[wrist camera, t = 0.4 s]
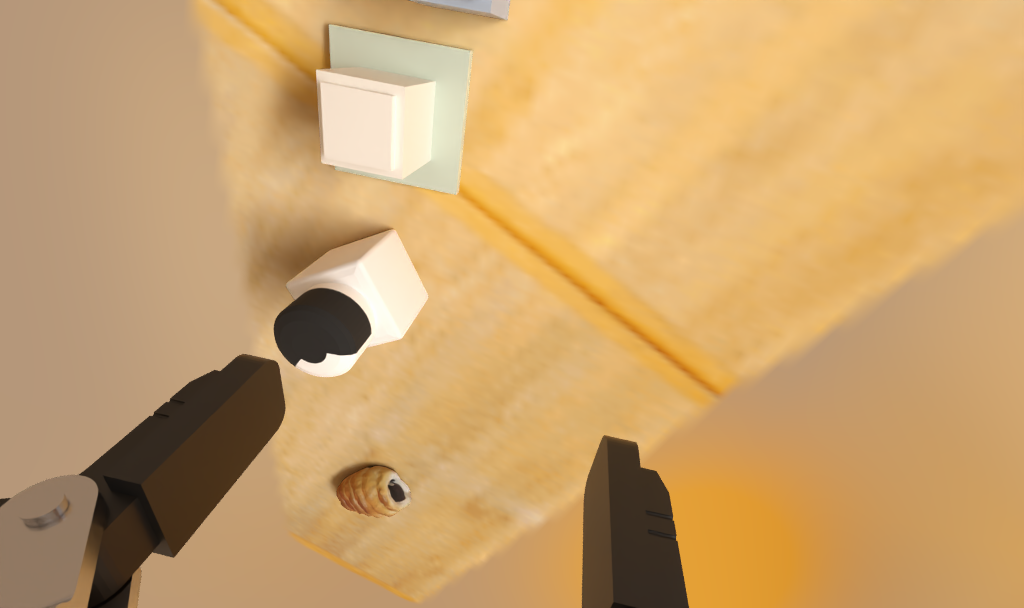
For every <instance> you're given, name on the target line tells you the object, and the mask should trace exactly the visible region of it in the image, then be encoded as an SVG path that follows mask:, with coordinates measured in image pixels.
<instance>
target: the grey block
mask: <svg viewBox="0 0 1024 608" xmlns="http://www.w3.org/2000/svg"><path fill="white" fill-rule="evenodd" d="M409 1H413V2H416V3H419V4H423V5H426V6H431V7H436V8H442V9H448V10H453V11H459V12H464V13H470V14H475V15H481V16H487V17H492V18H498V19H503V20H508V13H509V5H510V0H409Z"/></svg>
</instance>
